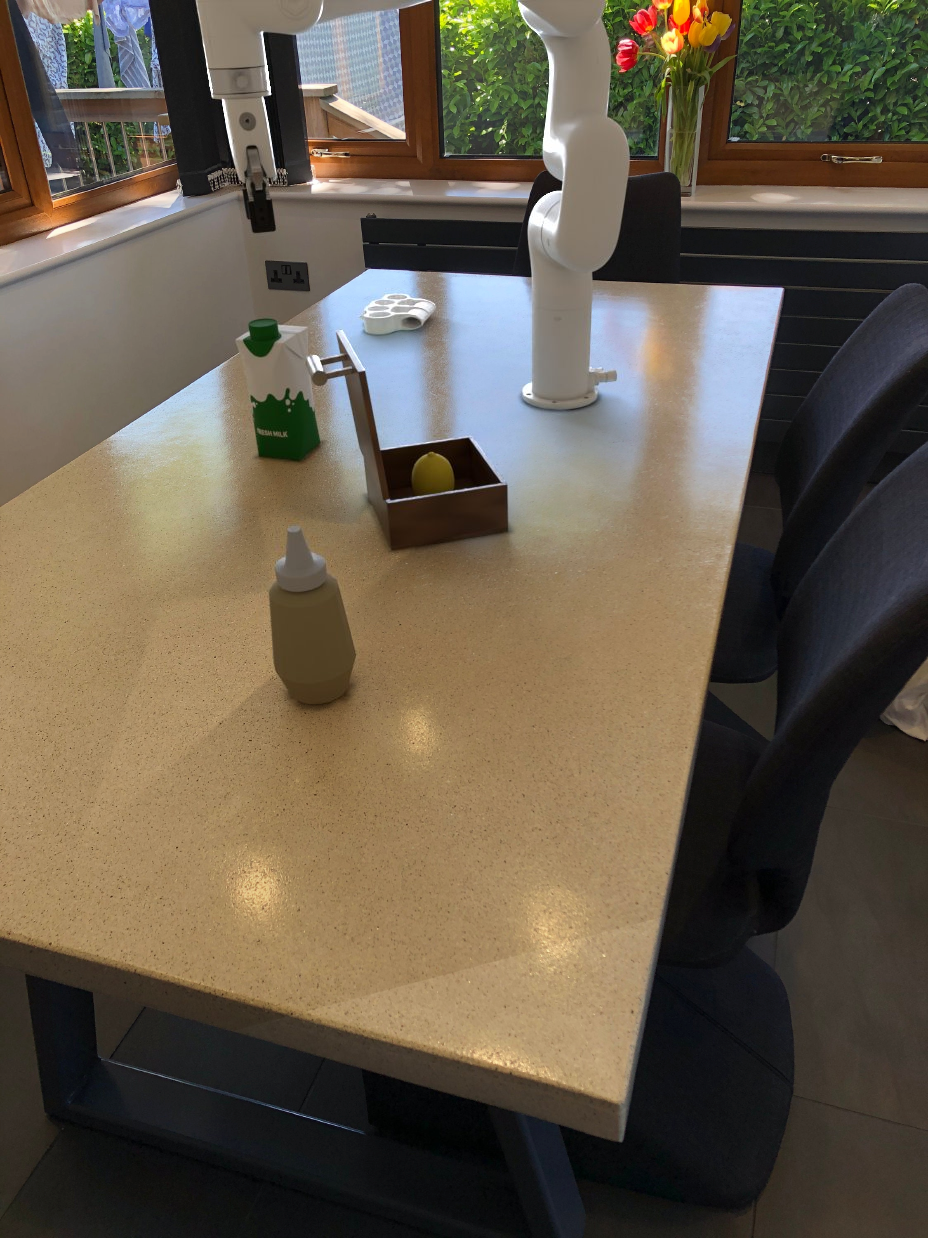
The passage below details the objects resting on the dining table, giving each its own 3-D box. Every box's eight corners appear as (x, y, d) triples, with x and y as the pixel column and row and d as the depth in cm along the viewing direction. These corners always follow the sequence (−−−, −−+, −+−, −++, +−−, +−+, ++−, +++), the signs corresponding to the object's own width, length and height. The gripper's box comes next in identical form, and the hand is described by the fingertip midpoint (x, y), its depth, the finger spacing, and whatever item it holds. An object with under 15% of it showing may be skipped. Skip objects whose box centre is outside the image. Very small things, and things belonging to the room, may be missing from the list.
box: (473, 478, 130) (471, 435, 127) (508, 531, 117) (507, 484, 114) (367, 495, 127) (362, 450, 124) (391, 551, 114) (386, 503, 111)
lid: (341, 328, 114) (297, 338, 113) (365, 370, 101) (315, 381, 100) (365, 447, 123) (324, 456, 123) (389, 499, 110) (344, 510, 110)
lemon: (450, 519, 119) (447, 462, 115) (409, 517, 120) (404, 460, 116) (459, 500, 124) (457, 444, 119) (419, 497, 125) (415, 442, 120)
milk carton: (250, 458, 139) (226, 325, 128) (279, 435, 146) (258, 307, 135) (302, 464, 136) (282, 329, 125) (329, 440, 143) (312, 310, 132)
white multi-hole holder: (418, 335, 186) (349, 333, 189) (439, 310, 200) (375, 308, 203) (417, 319, 184) (347, 317, 187) (438, 294, 198) (373, 292, 201)
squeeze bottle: (282, 666, 95) (253, 511, 85) (360, 660, 96) (340, 504, 86) (275, 716, 89) (243, 555, 79) (359, 709, 89) (338, 547, 79)
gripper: (275, 86, 113) (295, 234, 122) (263, 77, 127) (281, 211, 136) (213, 90, 111) (238, 240, 121) (207, 80, 125) (230, 215, 135)
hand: (261, 224), depth 129 cm, fingers open, 9 cm apart
